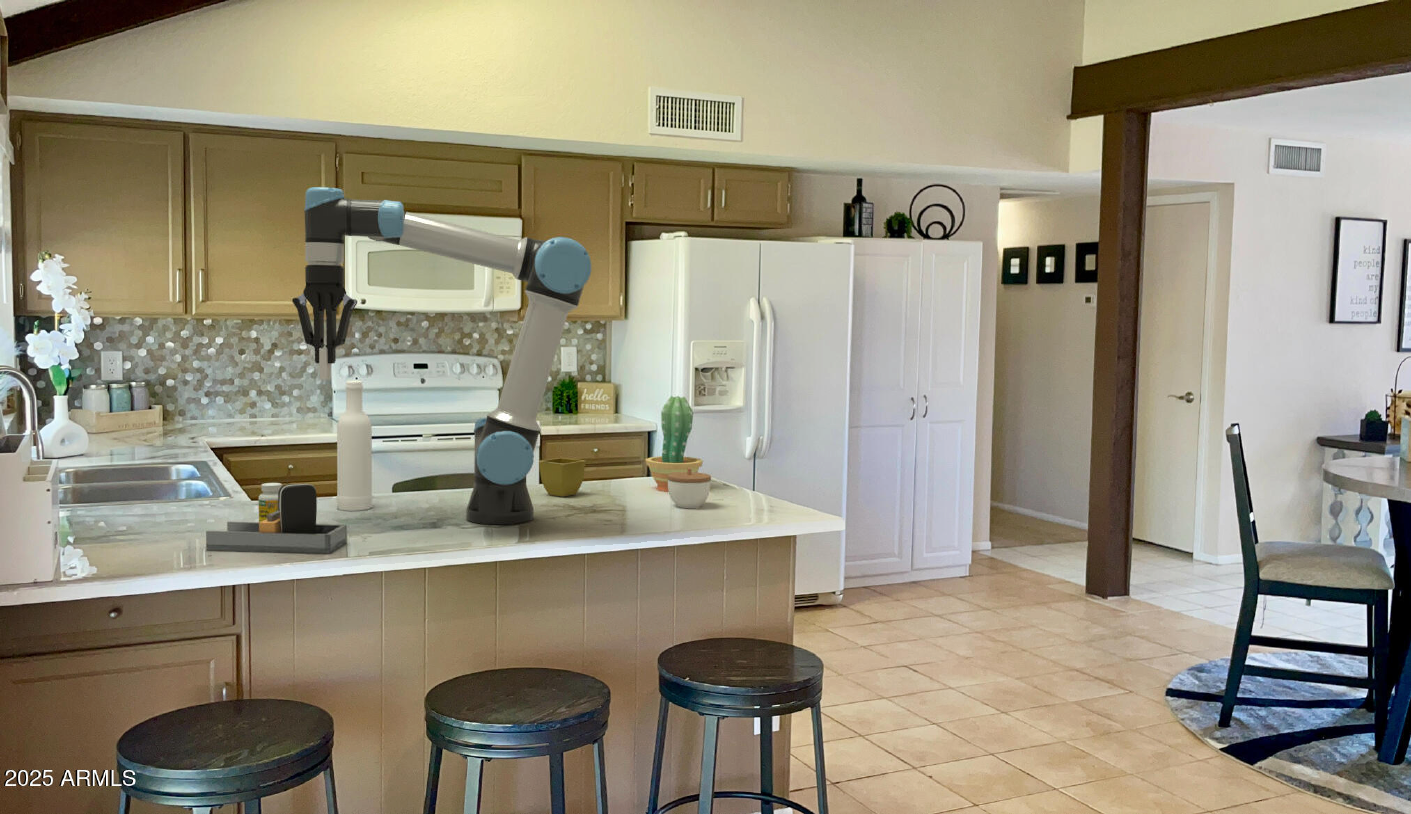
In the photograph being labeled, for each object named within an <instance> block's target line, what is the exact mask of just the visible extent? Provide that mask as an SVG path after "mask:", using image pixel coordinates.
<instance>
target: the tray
mask: <svg viewBox="0 0 1411 814" xmlns="http://www.w3.org/2000/svg"><path fill="white" fill-rule="evenodd" d="M226 523H227V525H226V526H227V527H226V529H227V530H206V531H205V543H206V544H205V548H206V549H205V550H206V551H214V552H215V551H217V552H218V551H220V552H221V551H222V552H252V553H253V552H254V553H257V552H258V553H282V554H283V553H285V554H287V553H288V554H292V553H293V554H316V555H317V554H321V555H322V554H325V555H329V554H331V553H333V552H335V551H336V550H338V549H340V548H341V547H343V546H344V545H346V544H347V543H348V541H347V540H348V537H347V536H348V533H347V531H348V529H347V527H348V525H347V524H330V523H329V524H327V523H326V524H323V523H316V534H304V533H269V532H259V521H258V522H251V521H250V522H249V521H227V522H226Z"/></svg>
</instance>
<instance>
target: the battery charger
mask: <svg viewBox="0 0 1411 814" xmlns="http://www.w3.org/2000/svg"><path fill="white" fill-rule="evenodd" d="M317 501H318V499H317V490H316V487H315V486H314V485H313V484H310V483H292V484H291V483H290V484H289V483H288V484H283V485H282V486H281V488H280V489H279V492H278V511H280V533H304V534H316V524H317V510H318V504H317V503H318V502H317Z"/></svg>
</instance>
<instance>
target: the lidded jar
mask: <svg viewBox="0 0 1411 814" xmlns="http://www.w3.org/2000/svg"><path fill="white" fill-rule="evenodd" d="M667 479H668V491H669V492H668V495H669V498H670V499H671V502H672V503H673V504H675V506H676V507H677V508H680V509H698V508H699V509H700V508H701V507H702V505H703V504H704V503H705V502H706V501H707V499H708V497H709V494H710V490H711V480H712V476H711V475H710V474H708V473H706V472H705V473H704V472H691V468H688V469H687V472H676V473H670V474H668V475H667Z"/></svg>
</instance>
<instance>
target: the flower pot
mask: <svg viewBox="0 0 1411 814" xmlns="http://www.w3.org/2000/svg"><path fill="white" fill-rule="evenodd" d="M538 465H539V466H538V467H539V472H540V479H541V482H542V485H543V488H544V489H545V491H546V493H547V494H548V495H550V496H554V497H555V496H557V497H562V498H564V497H568V496H574V495H576V494H577V493H578V491H579V490H580V488H581V486H582V485H583V481H584V476H585V468H586V460H582V459H576V458H573V459H572V458H566V457H557V458H556V457H555V458H551V459H550V458H549V459H544V460H543V459H542V460H538Z"/></svg>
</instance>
